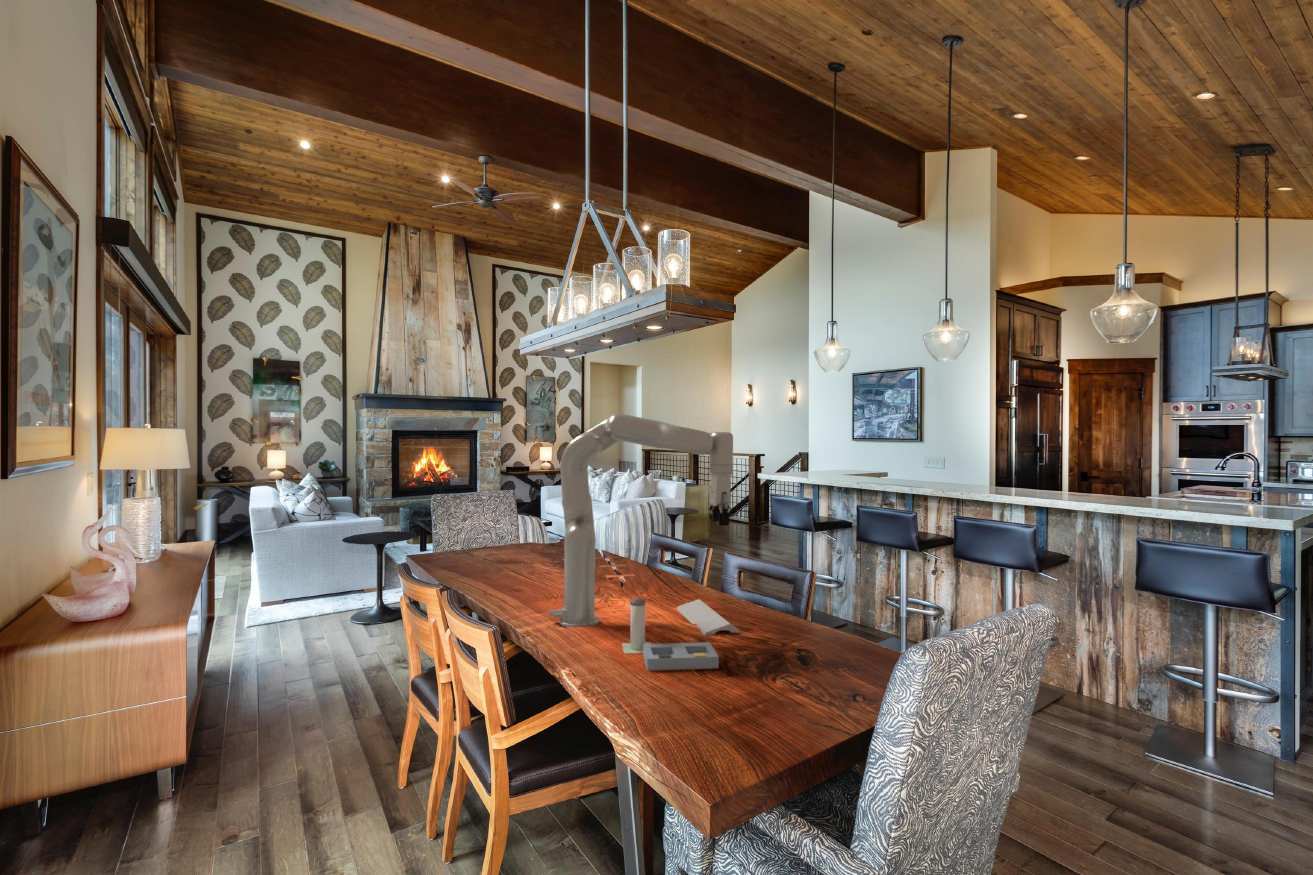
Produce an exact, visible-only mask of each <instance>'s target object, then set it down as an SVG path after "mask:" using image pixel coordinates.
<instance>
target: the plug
mask: <svg viewBox="0 0 1313 875" xmlns="http://www.w3.org/2000/svg"><path fill="white" fill-rule="evenodd" d="M629 602H630V603H629V604H630V629H629V630H630V632H629V633H630V634H629V635H630V637H629V639H630V640H629V641H630V642H629V643H630V648H631V649H632V650H643V644H645V643H646V605H647V600H646V599H645V598H641V597H639V598H637V597H635V598H631V599H630V601H629Z"/></svg>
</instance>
